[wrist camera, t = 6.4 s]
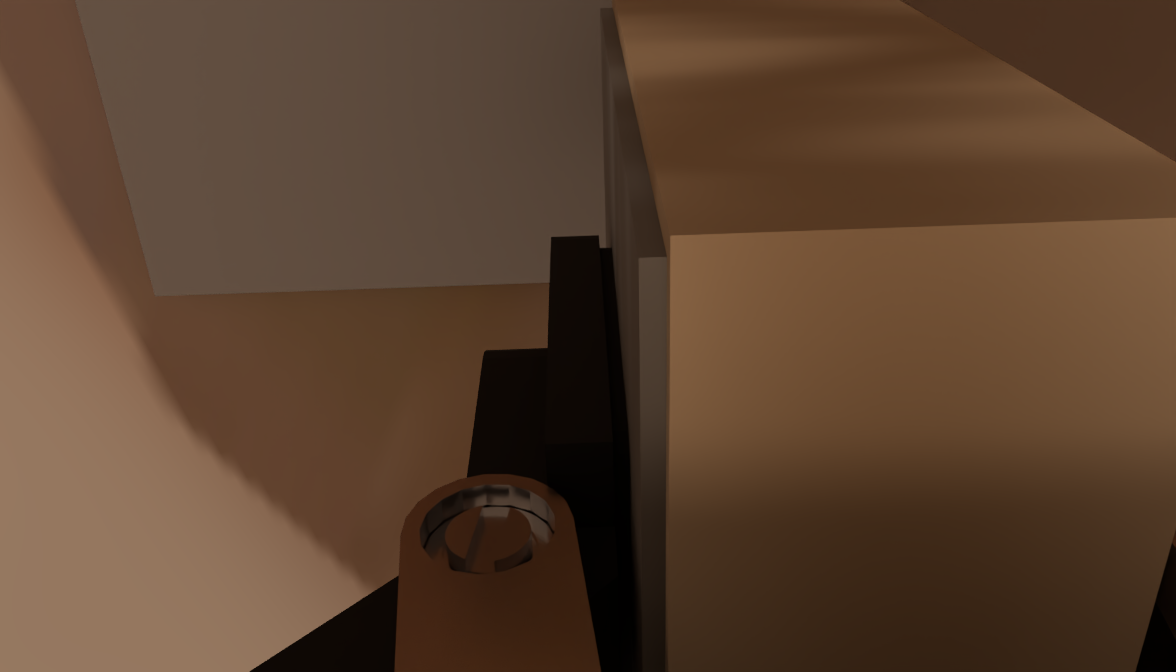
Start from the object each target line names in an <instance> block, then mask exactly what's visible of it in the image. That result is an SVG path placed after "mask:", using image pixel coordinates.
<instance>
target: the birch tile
mask: <svg viewBox="0 0 1176 672" xmlns="http://www.w3.org/2000/svg"><path fill="white" fill-rule="evenodd" d="M600 28H601V67H602V107H603V147H604V187H605V227H606V248H611V247H612V256H613V267H614V278H615V289H616V300H617V311H618V323H619V334H620V345H621V356H622V367H623V378H624V389H625V400H626V411H627V423H628V437H629V460H630V520H631V598H632V672H1135V671H1136V667H1137V664H1138V660H1139V657H1140V653H1141V650H1142V646H1143V643H1144V639H1145V636H1146V632H1147V629H1148V625H1149V622H1150V618H1151V615H1152V611H1153V608H1154V604H1155V601H1156V597H1157V593H1158V590H1159V586H1160V583H1161V579H1162V576H1163V572H1164V569H1165V565H1166V562H1167V558H1168V555H1169V551H1170V548H1171V544H1172V541H1173V537H1174V534H1175V530H1176V162H1175V161H1173V160H1171V159H1170V158H1168V157H1166V156H1164V155H1163V154H1161V153H1159V152H1158V151H1156V150H1154V149H1152V148H1151V147H1149V146H1147V145H1146V144H1144V143H1142V142H1141V141H1139V140H1137V139H1135V138H1134V137H1132V136H1130V135H1129V134H1127V133H1125V132H1124V131H1122V130H1120V129H1118V128H1117V127H1115V126H1113V125H1112V124H1110V123H1108V122H1106V121H1105V120H1103V119H1101V118H1100V117H1098V116H1096V115H1095V114H1093V113H1091V112H1089V111H1088V110H1086V109H1084V108H1083V107H1081V106H1079V105H1077V104H1076V103H1074V102H1072V101H1071V100H1069V99H1067V98H1066V97H1064V96H1062V95H1060V94H1059V93H1057V92H1055V91H1054V90H1052V89H1050V88H1048V87H1047V86H1045V85H1043V84H1042V83H1040V82H1038V81H1037V80H1035V79H1033V78H1031V77H1030V76H1028V75H1026V74H1025V73H1023V72H1021V71H1020V70H1018V69H1016V68H1014V67H1013V66H1011V65H1009V64H1008V63H1006V62H1004V61H1002V60H1001V59H999V58H997V57H996V56H994V55H992V54H991V53H989V52H987V51H985V50H984V49H982V48H980V47H979V46H977V45H975V44H973V43H972V42H970V41H968V40H967V39H965V38H963V37H962V36H960V35H958V34H956V33H955V32H953V31H951V30H950V29H948V28H946V27H945V26H943V25H941V24H939V23H938V22H936V21H934V20H933V19H931V18H929V17H927V16H926V15H924V14H922V13H921V12H919V11H917V10H916V9H914V8H912V7H910V6H909V5H907V4H905V3H904V2H902V1H900V0H612V8H600Z"/></svg>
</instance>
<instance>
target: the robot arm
mask: <svg viewBox="0 0 1176 672" xmlns="http://www.w3.org/2000/svg"><path fill="white" fill-rule="evenodd" d="M250 672H632V598H631V520H630V460H629V437H628V423H627V411H626V400H625V389H624V378H623V367H622V356H621V345H620V334H619V323H618V311H617V300H616V289H615V278H614V267H613V256H612V247H611V248H600V244H599V235H591V236H564V237H551V252H550V286H549V320H548V348H539V349H512V350H486V351H485V352H484V356H483V361H482V369H481V376H480V384H479V391H478V399H477V406H476V413H475V421H474V428H473V436H472V443H471V451H470V458H469V466H468V473H467V478H463V479H459V480H456V481H454V482H452V483H449V484H447V485H444V486H442V487H440V488H437V489H436V490H434V491H433V492H431V493H430V494H429V495H427V496H426V497H424V498H423V499H422V500H420V501H419V502H418V503H417V504H416V505H415V507H414V508H413V509H412V510H411V512H410V513H409V514H408V516H407V517H406V518H405V522H404V525H403V529H402V532H401V536H400V559H399V576H397V577H396V578H394V579H392V580H391V581H389V582H388V583H386V584H385V585H383V586H382V587H380V588H378V589H377V590H375V591H374V592H372V593H371V594H369V595H368V596H366V597H364V598H363V599H361V600H360V601H358V602H357V603H355V604H354V605H352V606H351V607H349V608H348V609H346V610H344V611H343V612H341V613H340V614H338V615H337V616H335V617H333V618H332V619H330V620H329V621H327V622H326V623H324V624H323V625H321V626H319V627H318V628H316V629H315V630H313V631H312V632H310V633H309V634H307V635H305V636H304V637H302V638H301V639H299V640H298V641H296V642H295V643H293V644H292V645H290V646H288V647H287V648H285V649H284V650H282V651H281V652H279V653H278V654H276V655H275V656H273V657H271V658H270V659H269V660H267V661H265V662H264V663H262V664H261V665H259V666H257V667H256V668H254V669H253V670H251V671H250ZM1135 672H1176V530H1175V534H1174V537H1173V541H1172V544H1171V548H1170V551H1169V555H1168V558H1167V562H1166V565H1165V569H1164V572H1163V576H1162V579H1161V583H1160V586H1159V590H1158V593H1157V597H1156V601H1155V604H1154V608H1153V611H1152V615H1151V618H1150V622H1149V625H1148V629H1147V632H1146V636H1145V639H1144V643H1143V646H1142V650H1141V653H1140V657H1139V660H1138V664H1137V667H1136V671H1135Z"/></svg>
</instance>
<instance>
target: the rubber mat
mask: <svg viewBox="0 0 1176 672" xmlns="http://www.w3.org/2000/svg"><path fill="white" fill-rule="evenodd" d="M75 2H76V6H77V10H78V13H79V17H80V21H81V24H82V28H83V32H84V35H85V39H86V43H87V47H88V50H89V54H90V58H91V61H92V65H93V69H94V72H95V76H96V80H97V83H98V87H99V91H100V95H101V98H102V102H103V106H104V109H105V113H106V117H107V120H108V124H109V128H110V131H111V135H112V139H113V143H114V146H115V150H116V154H117V157H118V161H119V165H120V168H121V172H122V176H123V179H124V183H125V187H126V191H127V194H128V198H129V202H130V205H131V209H132V213H133V216H134V220H135V224H136V228H137V231H138V235H139V239H140V242H141V246H142V250H143V253H144V257H145V261H146V264H147V268H148V272H149V276H150V279H151V283H152V287H153V290H154V294H155V296H177V295H206V294H234V293H263V292H292V291H321V290H350V289H379V288H408V287H437V286H466V285H495V284H524V283H550V252H551V237H564V236H591V235H599V244H600V248H606V227H605V187H604V147H603V107H602V67H601V28H600V8H612V0H75Z"/></svg>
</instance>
